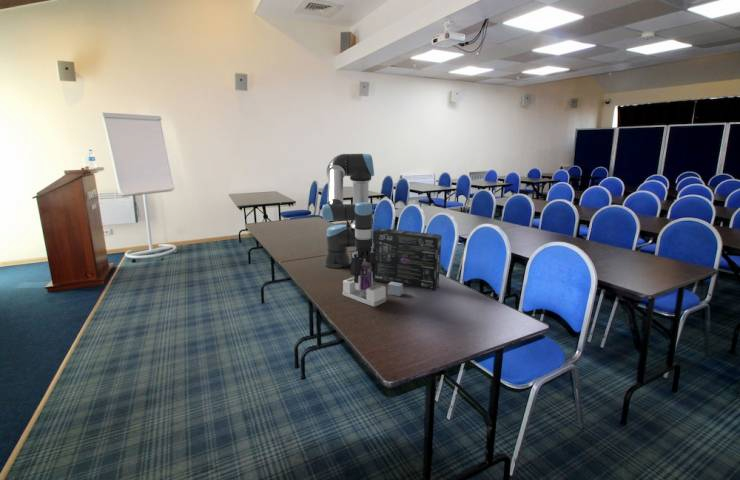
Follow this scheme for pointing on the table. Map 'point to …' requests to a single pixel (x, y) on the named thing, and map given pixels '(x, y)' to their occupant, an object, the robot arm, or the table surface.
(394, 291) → the block
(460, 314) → the table surface
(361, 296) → the white base plate
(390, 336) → the table surface
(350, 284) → the block
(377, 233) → the box
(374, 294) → the block
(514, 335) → the table surface
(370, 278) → the beverage can
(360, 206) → the robot arm
